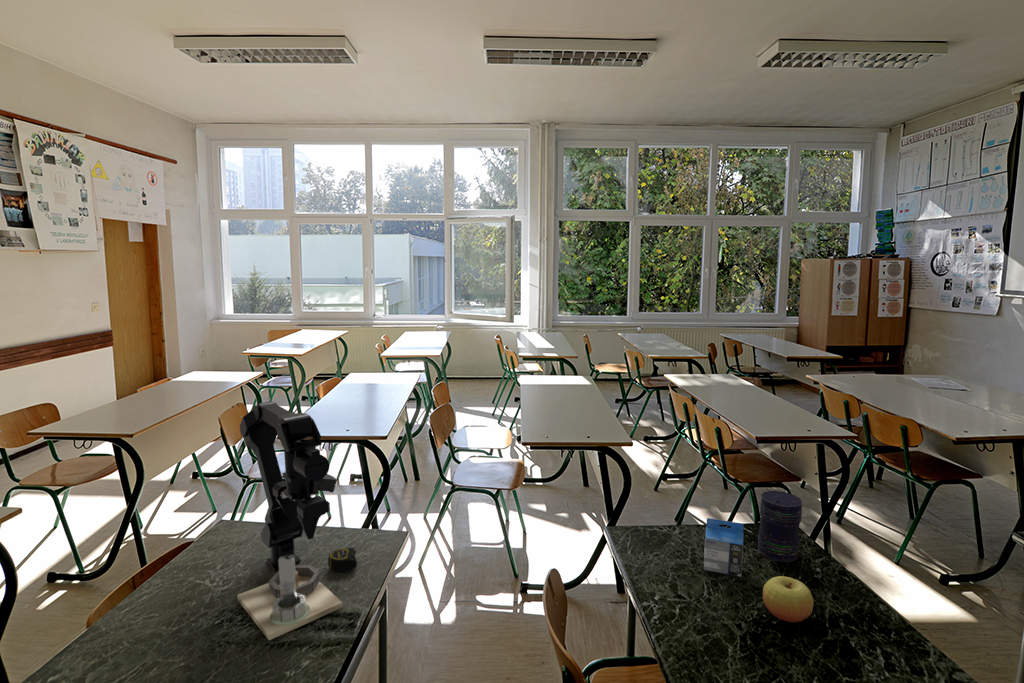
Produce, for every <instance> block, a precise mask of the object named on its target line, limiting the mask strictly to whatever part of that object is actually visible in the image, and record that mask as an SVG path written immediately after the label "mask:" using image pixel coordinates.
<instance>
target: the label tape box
mask: <svg viewBox="0 0 1024 683" xmlns="http://www.w3.org/2000/svg"><path fill="white" fill-rule="evenodd" d="M720 525H721V526H720ZM722 525H726V526H729V527H725V526H722ZM704 538H705V539H704V551H703V552H704V553H703V570H704V571H706V572H707V571H708V572H713V573H720V574H723V575H724V574H725V575H731V576H736V577H740V578H742V571H743V570H742V569H743V556H744V553H743V552H744V523H740V522H735V521H728V520H722V519H716V518H711V517H707V518H706V526H705V536H704Z"/></svg>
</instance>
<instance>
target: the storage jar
mask: <svg viewBox="0 0 1024 683" xmlns="http://www.w3.org/2000/svg"><path fill="white" fill-rule="evenodd" d="M760 497H761V500H760V508H759V510H760V511H759V516H760V526H759V529H758V536H757V539H758V541H757V542H758V545H757V550H758V552H759V553H760V554H761V555H763V556H764V557H765V558H768V559H771V560H773V561H778V562H785V563H786V562H787V563H788V562H789V563H790V562H794V561H796V560H797V559H798V557H799V549H800V524H801V522H802V515H803V514H802V513H803V511H802V508H803V499H801V498H800V497H798V496H797V495H794V494H792V493H789V492H786V491H779V490H768V491H764V492H762V493H761V496H760Z"/></svg>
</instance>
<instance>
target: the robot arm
mask: <svg viewBox="0 0 1024 683" xmlns="http://www.w3.org/2000/svg"><path fill="white" fill-rule="evenodd" d="M239 433H240V436H241V437H242V438H243V439H244V443H245V445H246V446H247V447H248V448H250V449H251V450H252V452H254V454H255V457H256V461H257V466H258V470H259V474H260V478H261V482H262V484H263V485H262V486H263V489H264V492H265V497H266V500H267V506H268V508H267V511H266V514H265V516H264V526H263V528H262V530H261V532H260V538H261V542H262V543H263V544H264V545H265V546H266V547H268V549H270V557H269V558H267V559H266V560H265V561H266V563H267V564H268V565H269V566H270V567H271V568H272V569H273V570H274V571H277V572H278V571H279V562H278V559H279V558H280V557H281V556H283V555H288V554H291V555H294V556H295V565H297V564H298V563H300V562H301V558H300V557H298V556H297V555H296V546H295V545H296V544H295V539H298V538H302V537H303V532H304V534H305V536H306V538H307V540H311V539H314V536H315V533H316V529H317V525H318V522H319V521H320V518H321V517H322V516H324V515H325V514H327V513H329V512H330V511H331V506H330V505H331V504H330V502H329V501H328V500H326V499H325V498H323V497H322V496H320V495H317V494H319V491H320V492H321V491H322V492H329V493H334V492H335V489H336V485H337V481H338V479H337V478H336V477H334V476H333V475H331V474H328V473H329V470H330V462H329V460H328V459H327V457H326V456H324V455H322V454H321V450H320V449H319V448H316V447H319V446H322V444H323V442H322V440H321V439H322V435H321V432H320V430H319V429H318V426H317V424H316V422H315V420H314V419H313V417H312V416H311V415H310V414H309V413H304V412H296V413H294V412H290V411H289V410H287V409H286V408H283V407H282V406H281V405H278V404H277V402H276V401H265V402H259V403H257V404H254V406H253V408H252V409H251V410H250V411H249V412H248V413H246V414H245V415H244V416H243V417H242V419H241V421H240V424H239ZM277 437H278V439H279V441H280V443H281V445H282V447H283V454H284V469H285V470H284V471H285V472H282V471H281V468H280V464H279V460H278V457H277V453H276V450H275V442H276V439H277ZM311 495H313V497H312V496H311ZM314 495H316V496H314Z"/></svg>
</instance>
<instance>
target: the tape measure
mask: <svg viewBox="0 0 1024 683" xmlns="http://www.w3.org/2000/svg"><path fill="white" fill-rule="evenodd" d="M356 551H357V550H355V548H354V547H349V548H339V549H335V550H333V551H332V552H331V553H330V554H329V555H328V559H327V560H328V561H327V563H328V564H327V565H328V567H329V570H331V571H332V572H335V573H336V572H337V573H343V572H348V571H350V570H351V571H352V570H354V569H356V568H357V566H358V562H357V557H356V554H357V552H356Z"/></svg>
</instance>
